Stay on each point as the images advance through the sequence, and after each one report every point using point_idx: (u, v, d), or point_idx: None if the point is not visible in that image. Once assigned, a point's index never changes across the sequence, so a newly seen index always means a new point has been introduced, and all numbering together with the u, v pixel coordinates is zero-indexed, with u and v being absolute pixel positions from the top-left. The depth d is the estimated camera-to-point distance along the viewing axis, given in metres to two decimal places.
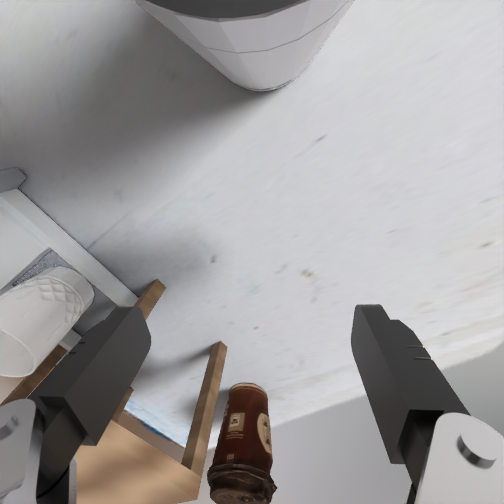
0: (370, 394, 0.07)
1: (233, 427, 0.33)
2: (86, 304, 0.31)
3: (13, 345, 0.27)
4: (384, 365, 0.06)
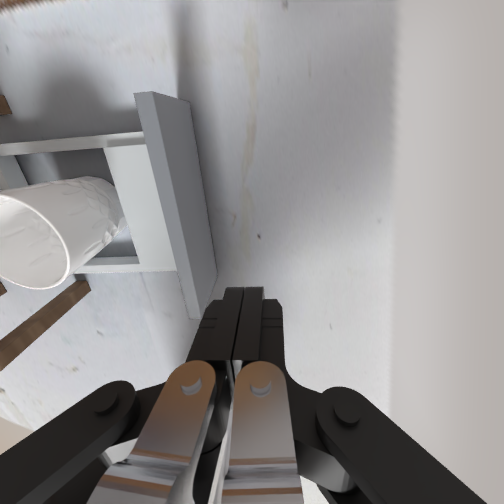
0: None
1: None
2: None
3: None
4: None
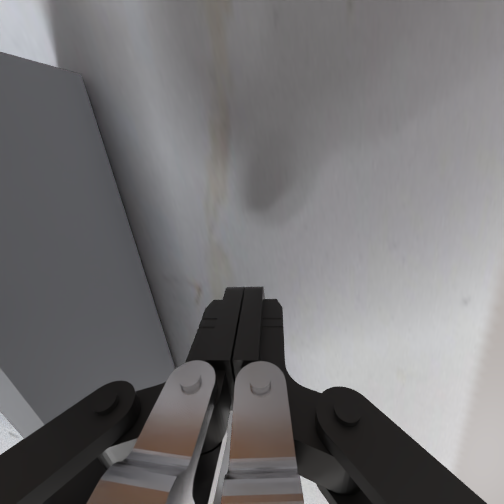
0: None
1: None
2: None
3: None
4: None
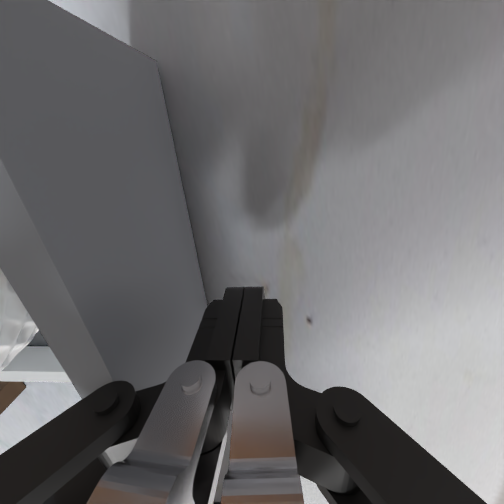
0: None
1: None
2: None
3: None
4: None
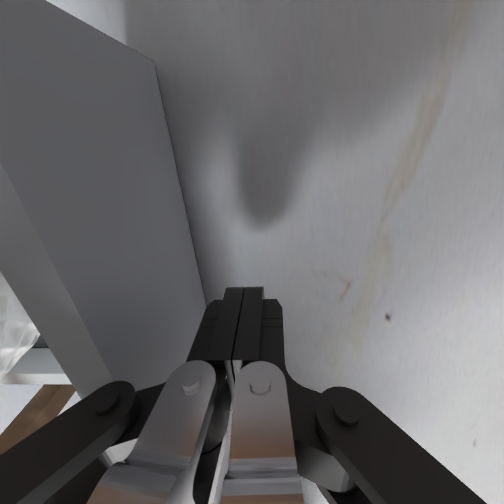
0: None
1: None
2: None
3: None
4: None
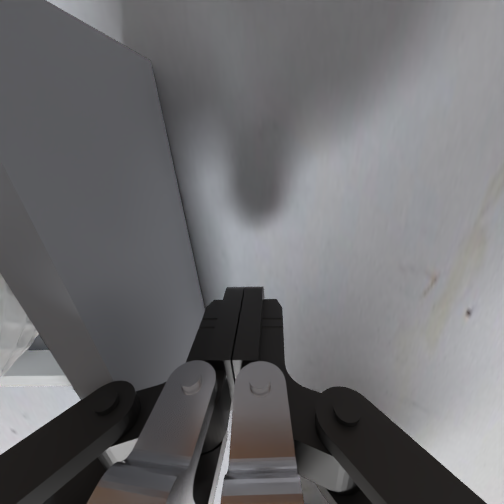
0: None
1: None
2: None
3: None
4: None
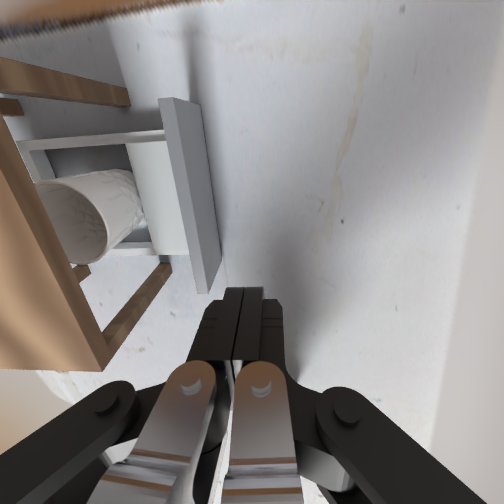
0: None
1: None
2: None
3: None
4: None
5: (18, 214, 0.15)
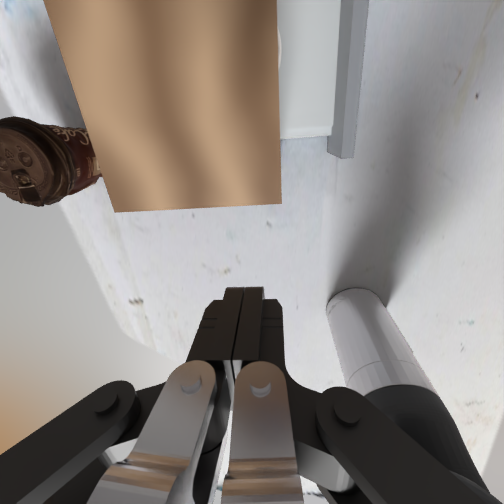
0: None
1: (95, 164, 0.29)
2: None
3: None
4: None
5: None
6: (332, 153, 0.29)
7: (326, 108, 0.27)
